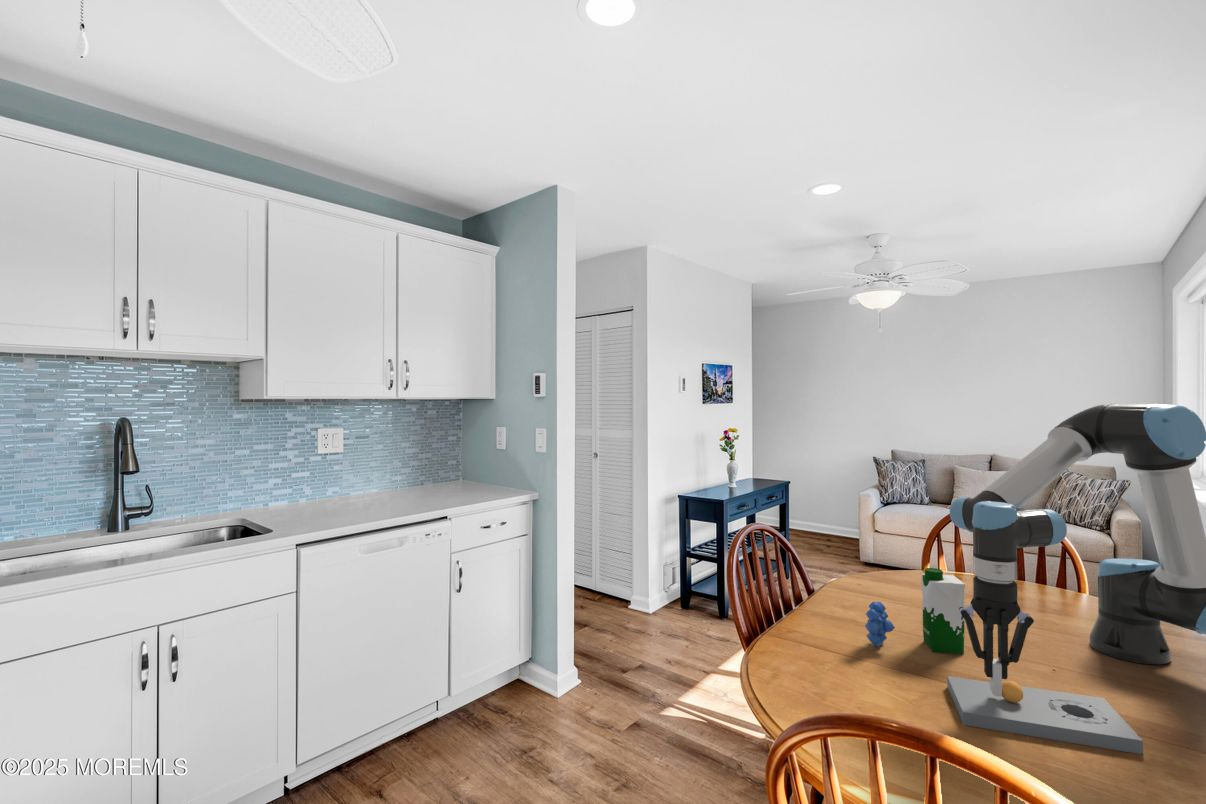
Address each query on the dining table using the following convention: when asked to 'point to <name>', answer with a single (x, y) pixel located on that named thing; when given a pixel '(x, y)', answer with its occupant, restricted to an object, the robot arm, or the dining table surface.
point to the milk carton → (943, 612)
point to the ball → (1012, 691)
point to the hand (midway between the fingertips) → (995, 692)
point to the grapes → (878, 624)
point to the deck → (1044, 715)
